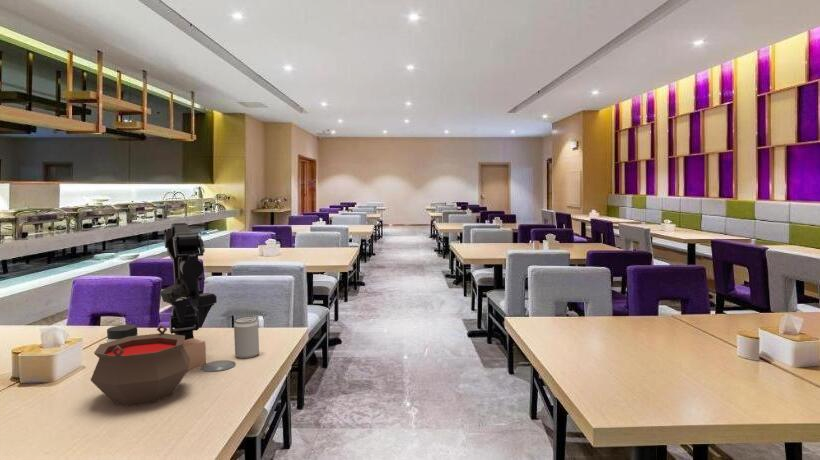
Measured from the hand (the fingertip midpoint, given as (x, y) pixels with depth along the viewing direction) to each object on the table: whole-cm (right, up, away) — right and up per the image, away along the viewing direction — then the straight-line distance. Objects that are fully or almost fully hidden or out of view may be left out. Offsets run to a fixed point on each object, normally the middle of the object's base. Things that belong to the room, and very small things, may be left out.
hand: (190, 324), depth 163 cm
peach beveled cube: (-1, -12, 0) cm, 12 cm away
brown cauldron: (-2, -14, -25) cm, 29 cm away
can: (+14, -12, +9) cm, 21 cm away
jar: (-21, -13, 0) cm, 24 cm away
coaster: (+9, -12, -2) cm, 15 cm away
